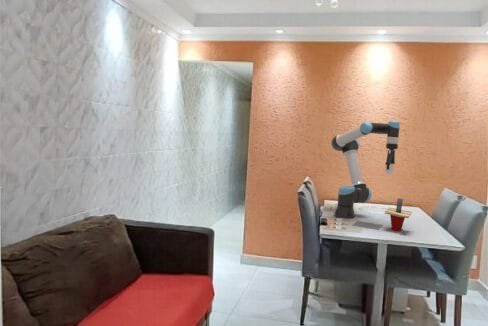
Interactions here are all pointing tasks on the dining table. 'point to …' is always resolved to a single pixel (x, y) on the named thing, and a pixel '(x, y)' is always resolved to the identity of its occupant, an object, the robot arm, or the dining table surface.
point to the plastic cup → (396, 222)
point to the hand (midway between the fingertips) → (389, 173)
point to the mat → (367, 225)
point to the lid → (398, 210)
